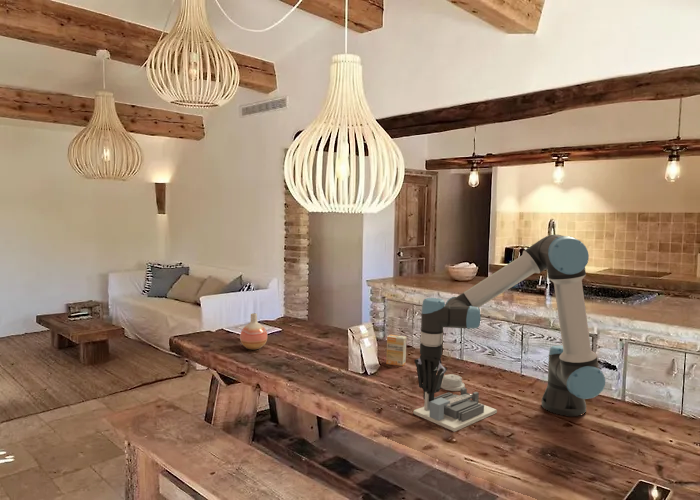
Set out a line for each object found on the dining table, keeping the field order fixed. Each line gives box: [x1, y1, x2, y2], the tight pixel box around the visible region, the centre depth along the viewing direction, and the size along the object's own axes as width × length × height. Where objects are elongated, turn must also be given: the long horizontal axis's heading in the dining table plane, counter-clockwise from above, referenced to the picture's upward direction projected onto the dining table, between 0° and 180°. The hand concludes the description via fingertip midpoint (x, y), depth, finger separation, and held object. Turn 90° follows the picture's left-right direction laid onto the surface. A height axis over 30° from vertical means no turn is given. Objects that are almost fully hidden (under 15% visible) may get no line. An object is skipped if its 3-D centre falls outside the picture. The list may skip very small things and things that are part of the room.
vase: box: [239, 312, 268, 351], centre depth 255 cm, size 14×14×18 cm
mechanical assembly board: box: [413, 387, 498, 433], centre depth 179 cm, size 18×24×6 cm
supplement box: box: [385, 334, 408, 367], centre depth 233 cm, size 8×5×13 cm, turn 68°
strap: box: [444, 392, 473, 409], centre depth 179 cm, size 5×17×1 cm, turn 130°
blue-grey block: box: [430, 398, 450, 421], centre depth 173 cm, size 4×6×5 cm
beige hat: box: [440, 373, 466, 392], centre depth 206 cm, size 10×4×10 cm
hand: (428, 409), depth 175 cm, fingers closed
